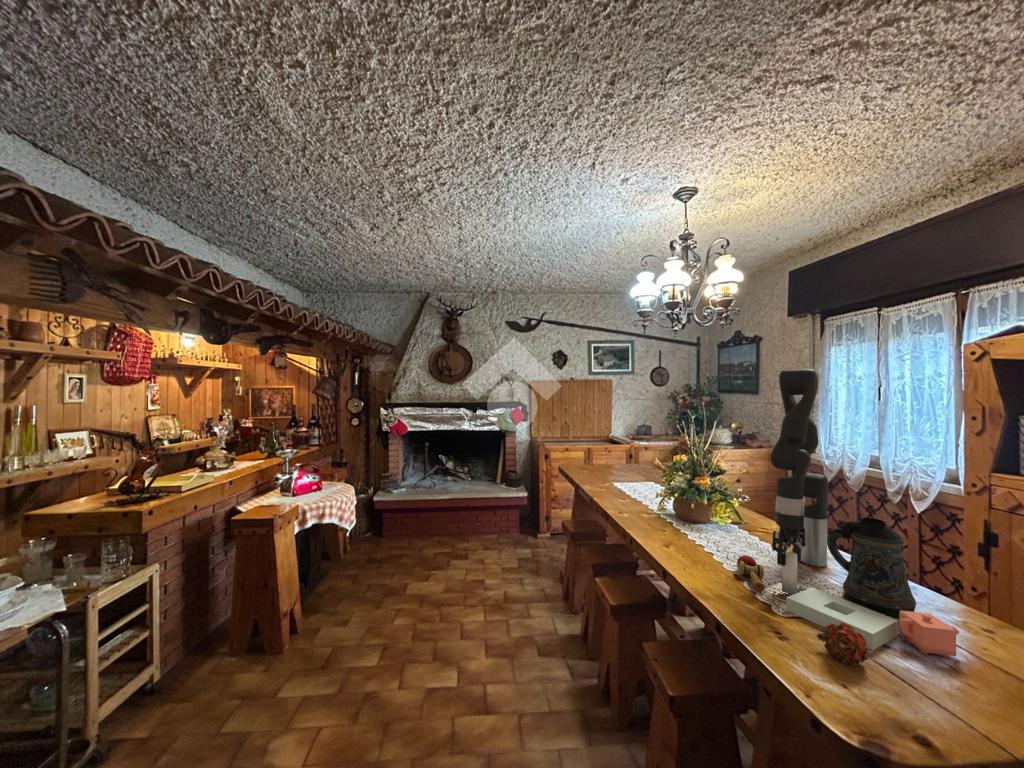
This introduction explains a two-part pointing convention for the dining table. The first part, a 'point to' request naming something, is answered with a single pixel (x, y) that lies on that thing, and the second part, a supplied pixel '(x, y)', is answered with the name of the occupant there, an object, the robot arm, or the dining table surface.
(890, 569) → the beer stein
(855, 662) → the dried red rose
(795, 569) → the peg
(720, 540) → the dining table surface
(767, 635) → the dining table surface
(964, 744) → the dining table surface
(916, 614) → the pink cube teapot
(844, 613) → the hole block
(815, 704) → the dining table surface
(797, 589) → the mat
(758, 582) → the kendama
